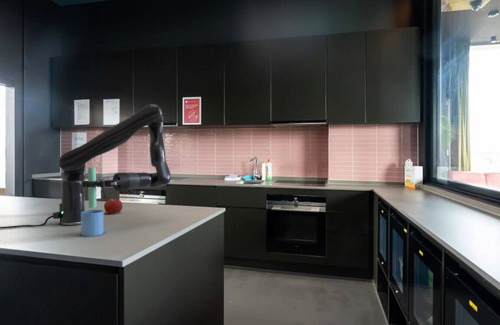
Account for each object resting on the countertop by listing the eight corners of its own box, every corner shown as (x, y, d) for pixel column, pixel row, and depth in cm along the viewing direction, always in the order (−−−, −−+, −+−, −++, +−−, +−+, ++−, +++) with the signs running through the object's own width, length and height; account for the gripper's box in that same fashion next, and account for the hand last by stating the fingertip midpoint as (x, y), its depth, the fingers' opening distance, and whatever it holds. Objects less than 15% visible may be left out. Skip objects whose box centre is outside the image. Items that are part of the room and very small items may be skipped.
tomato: (102, 213, 168) (102, 198, 168) (120, 211, 174) (119, 196, 174) (106, 215, 161) (106, 200, 161) (124, 213, 167) (124, 198, 166)
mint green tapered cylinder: (87, 207, 123) (86, 167, 123) (91, 206, 126) (90, 167, 126) (93, 207, 123) (93, 167, 123) (98, 206, 126) (97, 167, 125)
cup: (76, 236, 122) (76, 213, 121) (89, 231, 130) (89, 209, 129) (95, 236, 121) (95, 213, 120) (107, 231, 129) (107, 210, 128)
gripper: (119, 172, 140) (77, 174, 127) (134, 173, 130) (91, 175, 117) (119, 188, 140) (78, 192, 127) (134, 191, 130) (91, 195, 118)
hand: (84, 184), depth 122 cm, fingers closed on mint green tapered cylinder, 2 cm apart
